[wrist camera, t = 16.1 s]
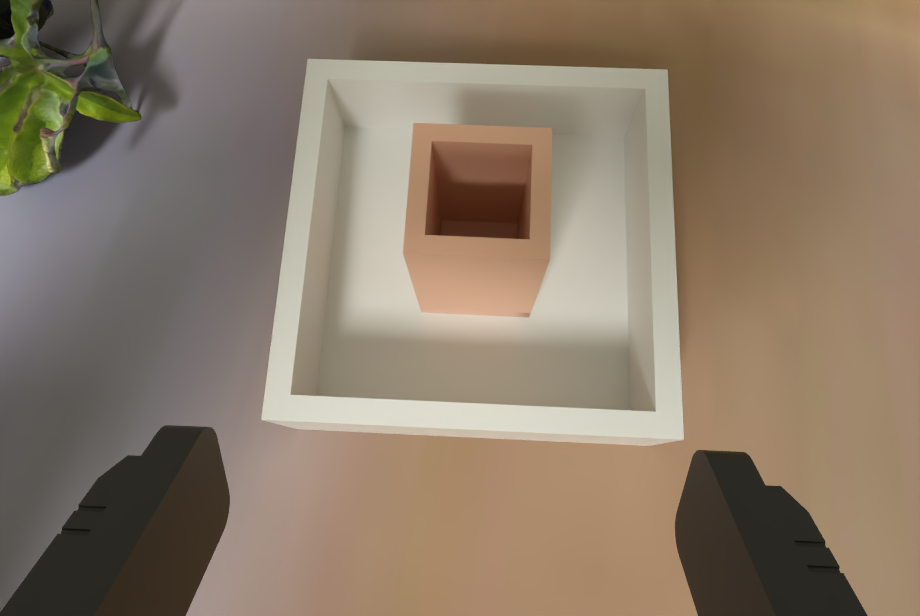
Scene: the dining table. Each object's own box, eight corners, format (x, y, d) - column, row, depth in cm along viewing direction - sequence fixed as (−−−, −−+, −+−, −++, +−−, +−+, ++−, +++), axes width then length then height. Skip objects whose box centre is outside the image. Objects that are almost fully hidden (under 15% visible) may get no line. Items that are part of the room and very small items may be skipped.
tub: (421, 312, 29) (402, 253, 21) (428, 212, 30) (413, 122, 23) (529, 317, 29) (549, 259, 21) (531, 216, 30) (552, 128, 22)
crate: (296, 428, 29) (261, 419, 24) (331, 120, 33) (307, 58, 28) (647, 445, 28) (683, 439, 23) (638, 130, 32) (667, 69, 28)
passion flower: (84, 114, 39) (7, -115, 32) (222, 151, 36) (173, -92, 29) (-106, 189, 31) (-269, -94, 24) (52, 246, 28) (-80, -60, 21)
